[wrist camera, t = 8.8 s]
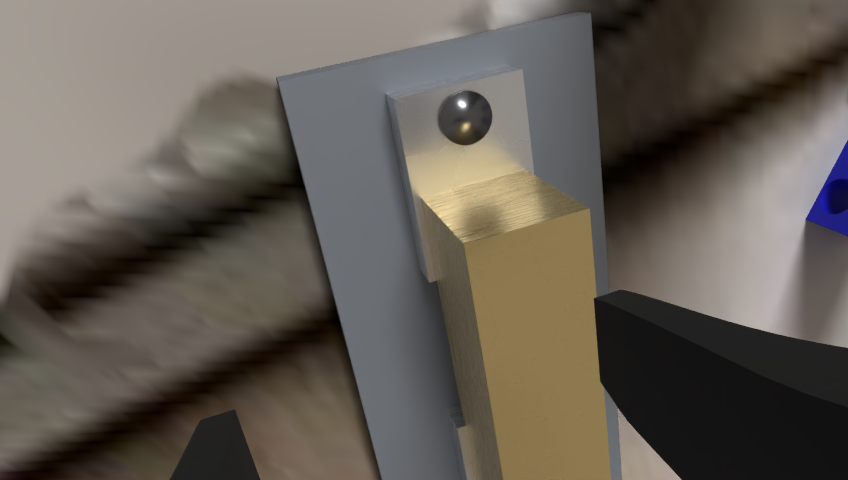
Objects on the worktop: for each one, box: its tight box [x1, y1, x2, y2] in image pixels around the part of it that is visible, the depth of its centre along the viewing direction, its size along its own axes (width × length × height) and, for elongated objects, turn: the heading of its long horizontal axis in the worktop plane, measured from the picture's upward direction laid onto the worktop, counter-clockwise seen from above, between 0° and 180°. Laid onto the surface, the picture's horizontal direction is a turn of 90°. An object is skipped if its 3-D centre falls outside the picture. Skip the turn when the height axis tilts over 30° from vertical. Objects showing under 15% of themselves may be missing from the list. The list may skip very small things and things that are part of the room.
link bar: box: [421, 170, 611, 480], centre depth 21 cm, size 4×12×4 cm, turn 11°
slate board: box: [276, 12, 622, 480], centre depth 24 cm, size 10×20×1 cm, turn 11°
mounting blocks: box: [385, 65, 534, 480], centre depth 23 cm, size 4×18×1 cm, turn 11°
